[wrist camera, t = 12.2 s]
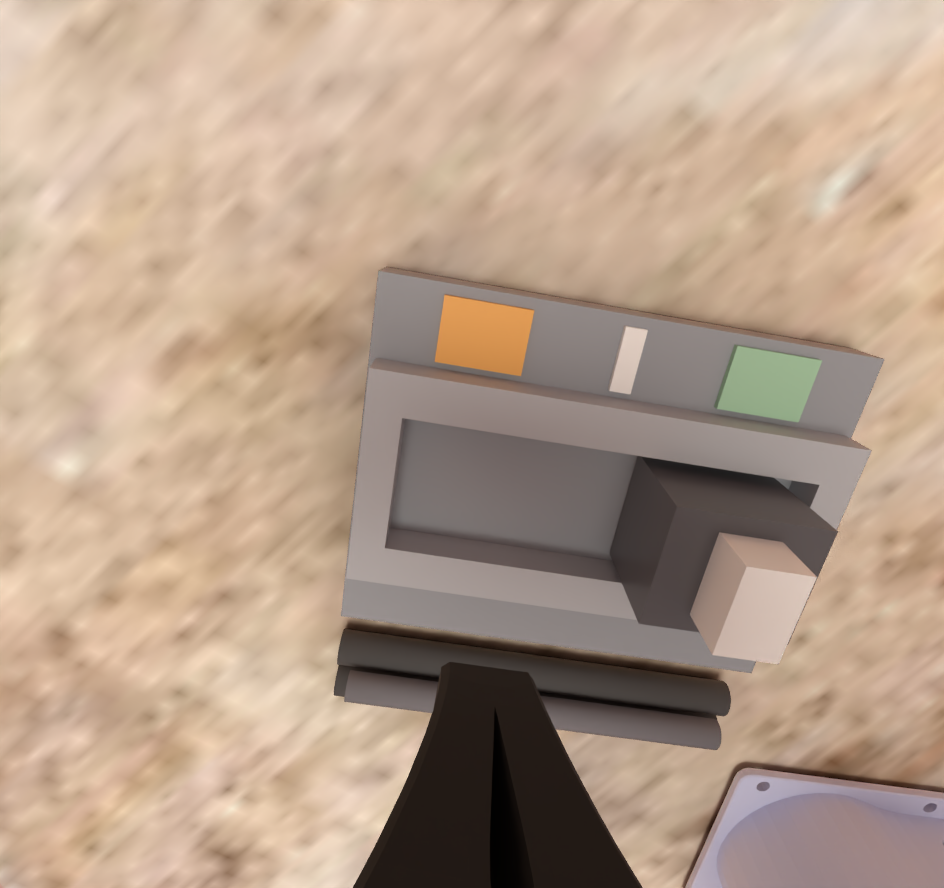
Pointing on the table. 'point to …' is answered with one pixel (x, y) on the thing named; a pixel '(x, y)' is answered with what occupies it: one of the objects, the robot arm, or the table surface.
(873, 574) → the table surface
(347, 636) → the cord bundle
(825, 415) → the breaker panel
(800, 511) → the breaker slider
